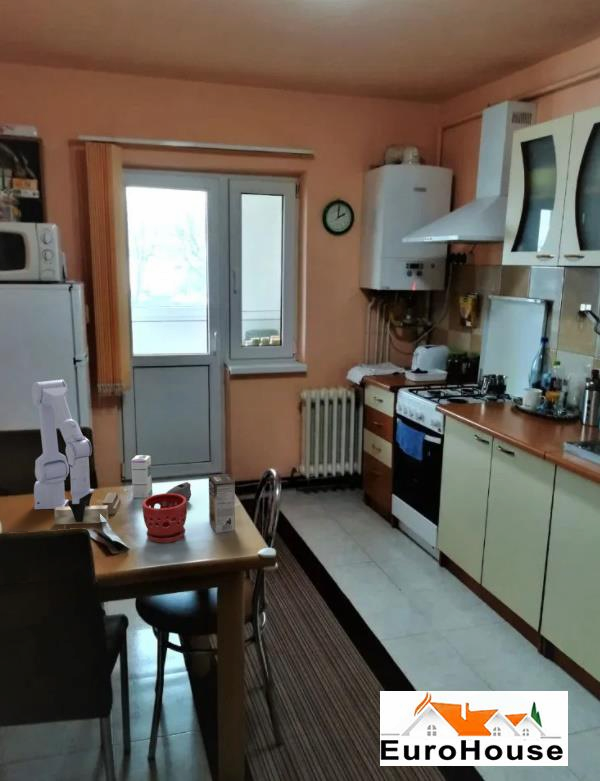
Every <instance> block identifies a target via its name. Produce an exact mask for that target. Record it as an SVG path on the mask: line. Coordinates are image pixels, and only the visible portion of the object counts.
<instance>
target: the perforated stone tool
mask: <svg viewBox="0 0 600 781" xmlns="http://www.w3.org/2000/svg"><path fill="white" fill-rule="evenodd" d="M166 493H171V494H179V495H182V496H184V497H185V498H186V501H187V503H188V502H190V501H191V500H190V499H191V497H192V491H191V483H189V482H188V481H186V482H183V483H180V484H177V485H176V486H173V487H172V488H170V489H169V490H168V491H166ZM166 493H164V494H166ZM162 504H163V505H166V504H167V502H165V501H164V502H163V503H162ZM175 504H177V502H175ZM169 505H170V506H172V504H169Z"/></svg>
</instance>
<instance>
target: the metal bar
mask: <svg viewBox="0 0 600 781" xmlns="http://www.w3.org/2000/svg"><path fill="white" fill-rule="evenodd" d="M53 510H54V525H72V524H73V525H76V524H80V525H81V524H101V523H100V514H101V515H102V516H103V517H104V518H105V519H106V521H107V522H108V521H109V514H108V505H102V504H101V505H89V506H85V510H84V519H83V522H76V521H75V518H74V515H73V512H72V510H71V508H70V507H69V505H68V506H64V507H56V509H53Z"/></svg>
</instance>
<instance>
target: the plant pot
mask: <svg viewBox="0 0 600 781" xmlns="http://www.w3.org/2000/svg"><path fill="white" fill-rule="evenodd" d="M164 501H165V502H167V504H166V505H163V504H162V503H163V502H164ZM175 502H177V504H175ZM187 503H188V502H187V501H186V498H185V497H184V496H182V495H179V494H171V493H167V492H166V494H165V493H159V494H154V495H150V496H149V497H148V498H144V500H143V501H142V504H141V505H142V506H141V507H142V515H143V521H144V525H145V527H146V529H147V531H146V536H147V538H148V539H149V540H150V541H152V542H156V543H160V544H161V543H162V544H163V543H165V544H166V543H173V542H176V541H178V540H180V539H181V538H183V537H184V535H185V534H186V528H185V527H184V526H185V524H186V522H187V521H186V519H187V515H188V514H187V513H188V504H187ZM169 504H172V506H170V505H169ZM156 505H159V506H160V507H159V508H155V506H156Z"/></svg>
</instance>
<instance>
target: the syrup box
mask: <svg viewBox="0 0 600 781" xmlns="http://www.w3.org/2000/svg"><path fill="white" fill-rule="evenodd" d="M130 462H131V482H132V498H136V499H147V498H148V497H151V496H152V494H153V477H152V476H153V475H152V474H153V473H152V472H153V471H152V456H151V455H145V454H140V455H138V454H137V455H135V456H134V457H133V458H132V459H131V460H130Z"/></svg>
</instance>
